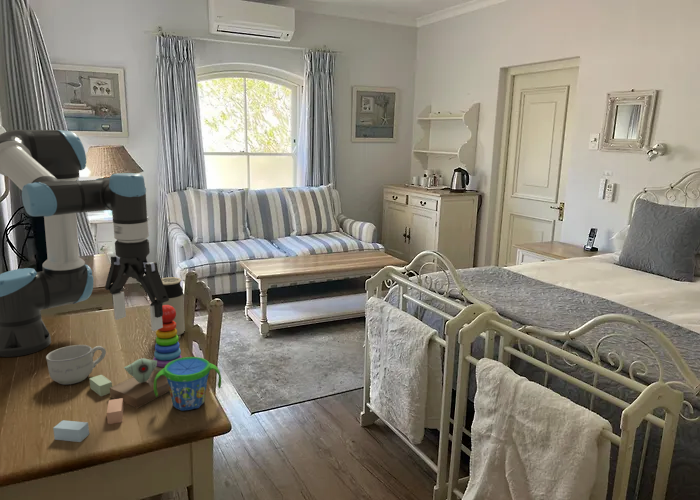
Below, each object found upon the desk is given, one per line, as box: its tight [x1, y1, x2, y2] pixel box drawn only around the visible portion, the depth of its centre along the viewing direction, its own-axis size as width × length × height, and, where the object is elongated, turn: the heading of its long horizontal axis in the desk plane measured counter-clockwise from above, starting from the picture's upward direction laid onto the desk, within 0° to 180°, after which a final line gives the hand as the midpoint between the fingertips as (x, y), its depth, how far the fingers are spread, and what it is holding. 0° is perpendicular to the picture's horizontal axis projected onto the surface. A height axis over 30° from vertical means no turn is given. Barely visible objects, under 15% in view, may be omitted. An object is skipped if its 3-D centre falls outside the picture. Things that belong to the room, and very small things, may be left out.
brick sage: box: [88, 374, 113, 397], centre depth 130 cm, size 6×3×3 cm, turn 49°
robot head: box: [123, 357, 157, 383], centre depth 129 cm, size 8×4×7 cm, turn 123°
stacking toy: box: [152, 305, 183, 372], centre depth 140 cm, size 8×8×19 cm
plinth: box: [109, 370, 170, 409], centre depth 130 cm, size 10×12×2 cm
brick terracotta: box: [106, 398, 125, 425], centre depth 119 cm, size 6×3×3 cm, turn 20°
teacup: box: [45, 344, 107, 385], centre depth 136 cm, size 14×11×8 cm
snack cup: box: [154, 356, 222, 412], centre depth 124 cm, size 16×10×10 cm
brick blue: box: [52, 419, 90, 443], centre depth 110 cm, size 6×3×3 cm, turn 83°
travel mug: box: [161, 276, 186, 337], centre depth 166 cm, size 8×8×18 cm
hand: (138, 323), depth 126 cm, fingers open, 13 cm apart
